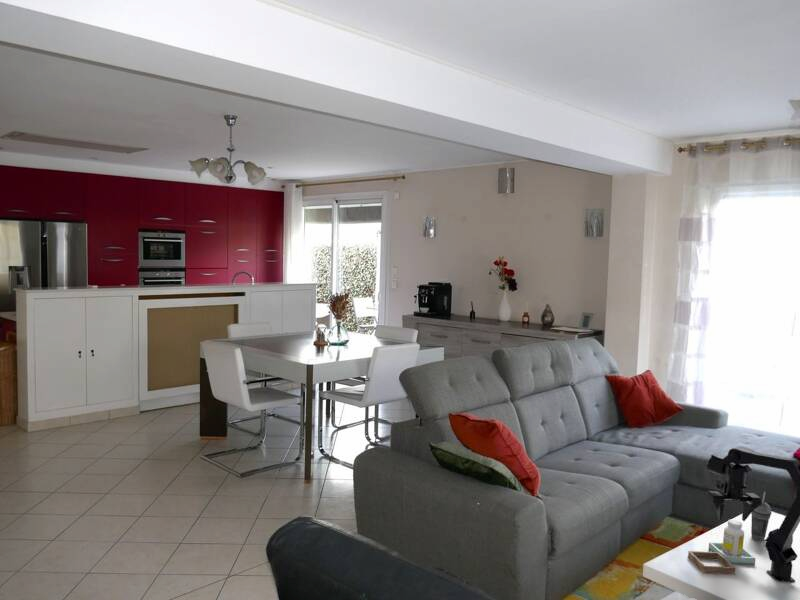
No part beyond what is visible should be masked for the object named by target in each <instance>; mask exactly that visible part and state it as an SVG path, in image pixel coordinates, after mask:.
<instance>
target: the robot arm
mask: <svg viewBox="0 0 800 600" xmlns="http://www.w3.org/2000/svg"><path fill="white" fill-rule="evenodd" d="M749 465H757V466H758V465H759V466H764V467H769V468H773V469H774V468H775V469H781V470H784V471H786V472H787V473H788V474H789V476H790V478H791V480H792V482H793V483H794V484H795V485H796V489H795V499H794V501H793V503H792V505H791V506H790V508H789V510H788V512H787V513H786V515H785V517H784V518H783V520H782V523H781V525H780V527H779V528H775V529H773V530H770V531H768V532H769V533H768V535H767V537H766V538H765V539H764V542H765V544H764V547H765V549H766V551H767V554H768V557H769V560H770V561H771V564H770V569H769V570H766V573H767V574H768V575H770V576H771V577H772V578H773V579H775V580H776V582H791V583H792V582H793V583H794V582H795V581H796V579H794V578H793V577H792V571H793V562H794V561H796V560H797V558H798V555H797V553H796V552H795V550H794V549H793V547H792V545H793V542H794V533H795V531H796V530H797V528H798V527H799V525H800V460H799V459H797V458H796V457H795V458H794V457H792V458H791V457H786V456H785V457H784V456H779V455H773V454H767V453H761V452H757V451H755V450H753V449H751V448H748V447H746V446H737V447H733V448H731V449H729V450H728V452H727V455H726V456H725V457H723V456H719V455H718V454H716V453H714V454H711V456H710V458H709V460H708V462H707V463H706V469H707V471H709V472H711V473H713V474H717V475H720V476H721V477H725V476H726V475H727V479H725V480H724V482H722V480H721V479H713V488H714V489H717V491H716V490H715V491H713V490H708V491H707V492H706V493H705V494H706V495H705V498H706V499H707V500H709V501H710V502H711V503H712V504H713V506H714V507H715V512H716V515H717V519H718V520H719V521H721V520H722V518H723V514H724V509H725V504H724V503H725V501H729V502H731V501H732V502H733V501H735V502H736V501H737V502H742V505H743V509H742V515H741V520H742V521H743V522H746V521H747V519H748V518H749V516H751V515H752V514H751V513H752V511H753V510H754V509H755V508H758V506H762V501H763V498H762V497H760V496H759V495H757V494H756V493H755V492H744V491H745V489H747V485H745V483H746V476H747V475H746V474H748V473H751V472H753V469H752V467H750V466H749ZM720 492H722V493H720Z"/></svg>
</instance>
